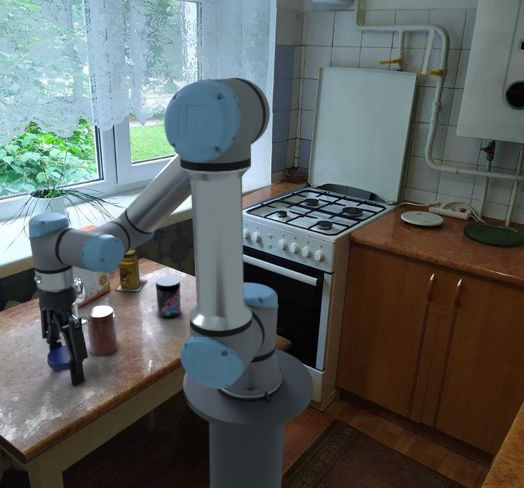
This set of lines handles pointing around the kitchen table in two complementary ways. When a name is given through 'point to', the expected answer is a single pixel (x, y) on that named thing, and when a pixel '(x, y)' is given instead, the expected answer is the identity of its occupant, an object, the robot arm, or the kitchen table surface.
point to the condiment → (130, 273)
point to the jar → (102, 330)
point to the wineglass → (79, 295)
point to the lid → (59, 358)
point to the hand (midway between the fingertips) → (68, 374)
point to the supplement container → (168, 296)
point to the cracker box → (92, 279)
